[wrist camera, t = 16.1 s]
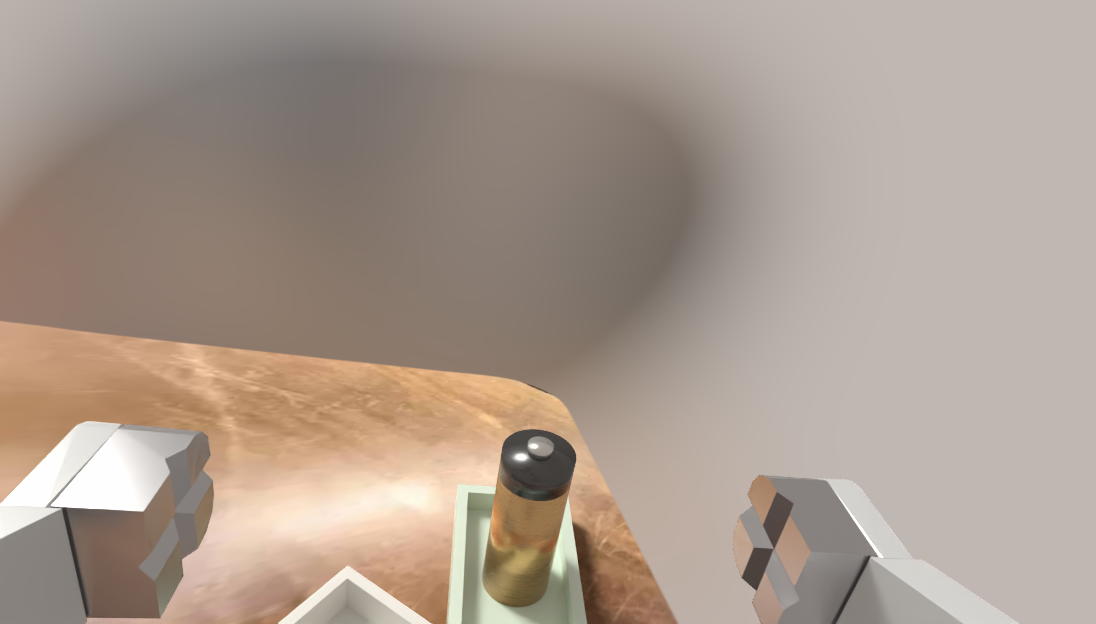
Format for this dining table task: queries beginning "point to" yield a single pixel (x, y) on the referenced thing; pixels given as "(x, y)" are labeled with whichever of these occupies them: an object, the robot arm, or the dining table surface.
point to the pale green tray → (470, 607)
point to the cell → (527, 516)
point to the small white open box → (352, 604)
